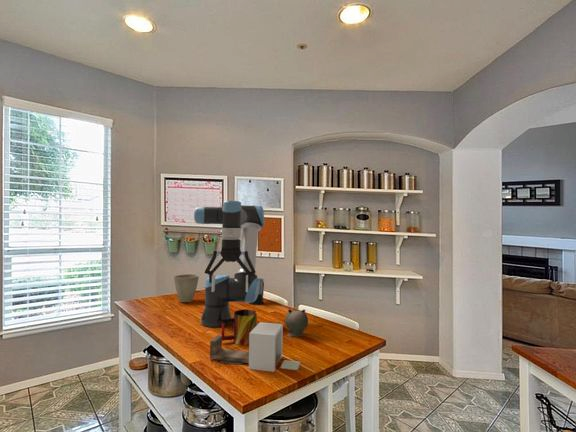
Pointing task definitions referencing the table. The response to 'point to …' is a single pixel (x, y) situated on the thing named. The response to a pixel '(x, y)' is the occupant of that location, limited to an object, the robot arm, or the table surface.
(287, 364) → the pad
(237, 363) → the pit pad
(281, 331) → the upright grey pillar
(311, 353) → the table surface
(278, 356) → the sled
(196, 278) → the plant pot
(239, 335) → the mug
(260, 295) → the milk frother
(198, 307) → the table surface
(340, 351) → the table surface
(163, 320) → the table surface
